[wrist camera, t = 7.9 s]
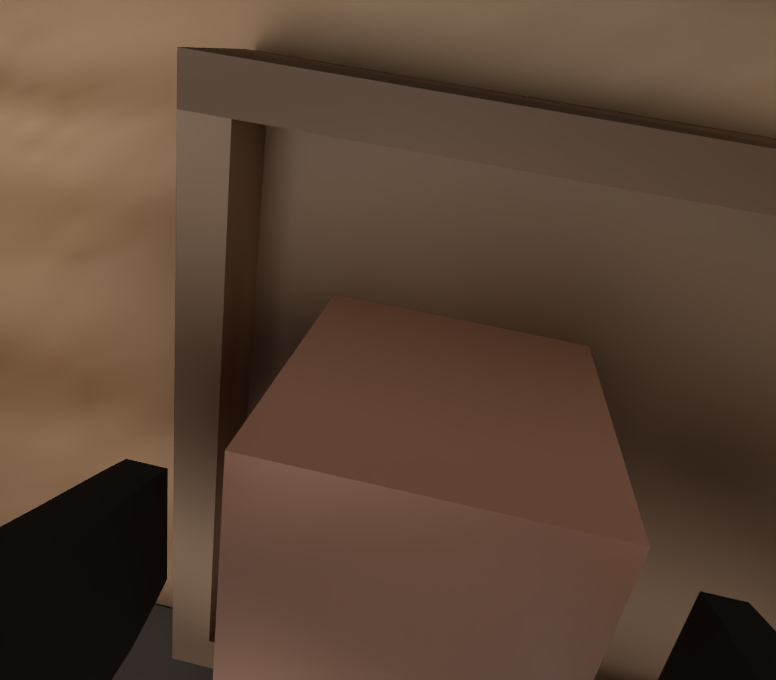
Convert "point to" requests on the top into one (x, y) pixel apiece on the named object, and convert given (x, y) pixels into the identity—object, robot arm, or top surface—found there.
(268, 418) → the terracotta block
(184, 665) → the organiser housing
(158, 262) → the top surface
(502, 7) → the top surface
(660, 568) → the tray
